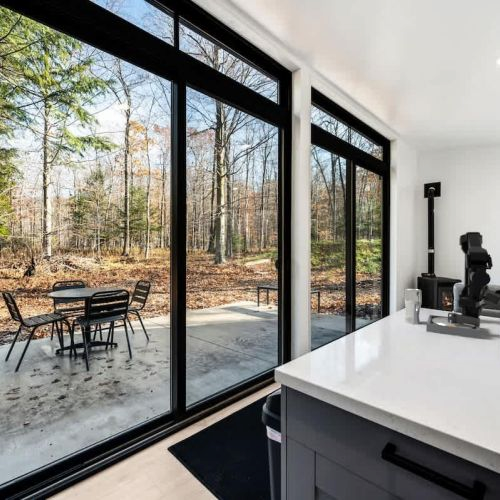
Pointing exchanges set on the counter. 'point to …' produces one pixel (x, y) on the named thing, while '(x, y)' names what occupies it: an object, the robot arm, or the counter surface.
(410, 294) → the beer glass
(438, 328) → the dial base
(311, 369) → the counter surface
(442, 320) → the dial
